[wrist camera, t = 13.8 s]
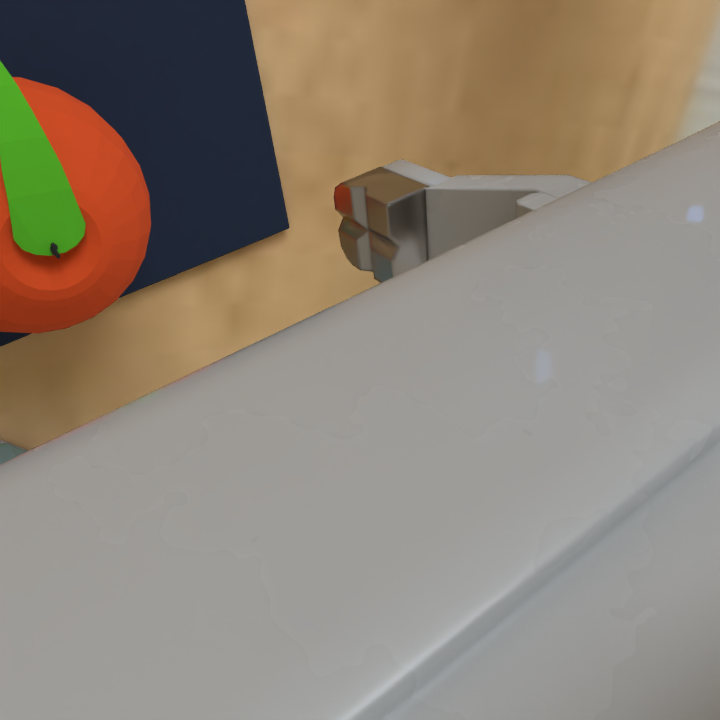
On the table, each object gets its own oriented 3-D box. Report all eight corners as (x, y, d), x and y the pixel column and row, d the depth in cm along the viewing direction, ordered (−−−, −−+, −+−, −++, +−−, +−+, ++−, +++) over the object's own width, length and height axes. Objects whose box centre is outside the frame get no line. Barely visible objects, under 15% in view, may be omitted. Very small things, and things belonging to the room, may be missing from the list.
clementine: (-211, 28, 16) (-217, 57, 11) (72, 12, 20) (161, 28, 15) (-88, 310, 20) (-54, 418, 16) (126, 255, 24) (209, 331, 19)
